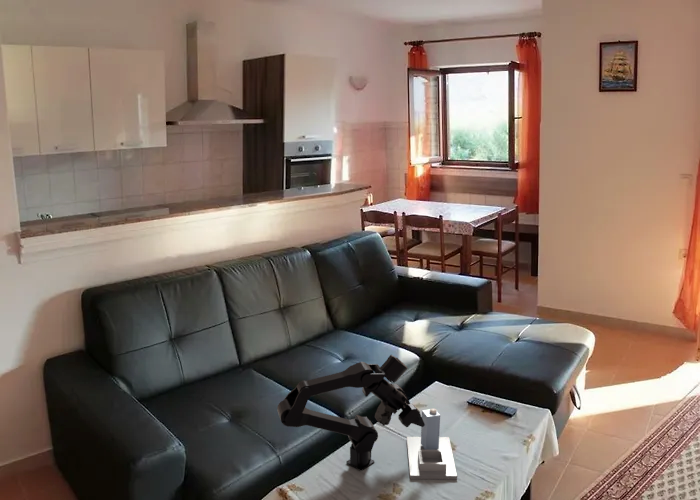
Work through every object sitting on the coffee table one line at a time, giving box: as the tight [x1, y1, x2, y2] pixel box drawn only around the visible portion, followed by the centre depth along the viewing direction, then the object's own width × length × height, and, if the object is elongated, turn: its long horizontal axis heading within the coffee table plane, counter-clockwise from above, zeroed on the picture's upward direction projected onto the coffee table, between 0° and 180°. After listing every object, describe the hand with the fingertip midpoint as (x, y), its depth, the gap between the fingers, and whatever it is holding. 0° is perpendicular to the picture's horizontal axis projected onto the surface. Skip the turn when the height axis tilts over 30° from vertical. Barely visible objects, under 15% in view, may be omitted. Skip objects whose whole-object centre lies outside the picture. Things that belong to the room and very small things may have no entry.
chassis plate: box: [406, 436, 458, 480], centre depth 206 cm, size 22×14×4 cm, turn 178°
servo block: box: [420, 408, 441, 450], centre depth 208 cm, size 4×4×13 cm
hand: (418, 418), depth 206 cm, fingers open, 9 cm apart
